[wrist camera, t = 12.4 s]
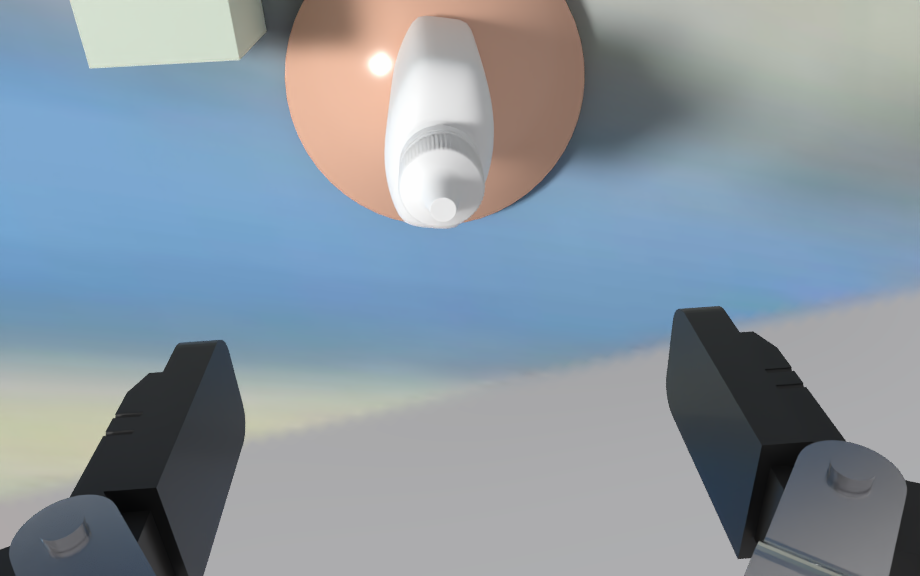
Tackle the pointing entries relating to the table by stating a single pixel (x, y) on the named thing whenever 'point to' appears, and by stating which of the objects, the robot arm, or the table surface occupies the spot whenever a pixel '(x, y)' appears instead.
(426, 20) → the eye dropper bottle
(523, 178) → the salmon disc
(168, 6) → the sage block
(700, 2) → the table surface
